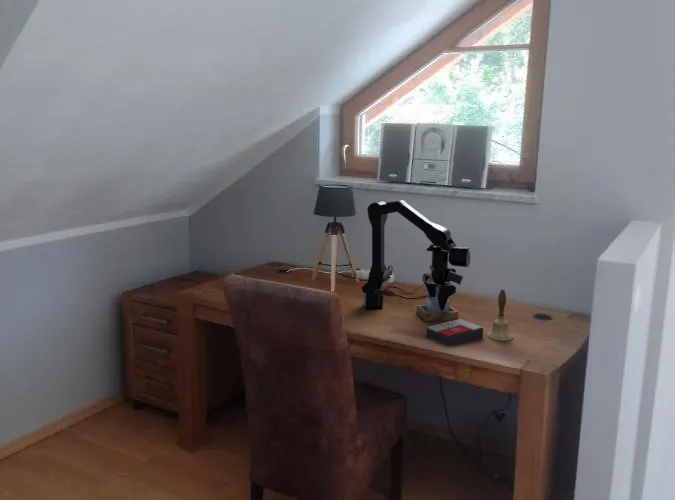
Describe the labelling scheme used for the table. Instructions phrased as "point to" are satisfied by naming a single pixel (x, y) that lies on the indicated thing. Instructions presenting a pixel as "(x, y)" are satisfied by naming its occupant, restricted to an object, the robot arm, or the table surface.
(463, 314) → the table surface
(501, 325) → the hand bell
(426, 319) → the walnut crate
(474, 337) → the grey and red box
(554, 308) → the table surface
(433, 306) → the small crate
